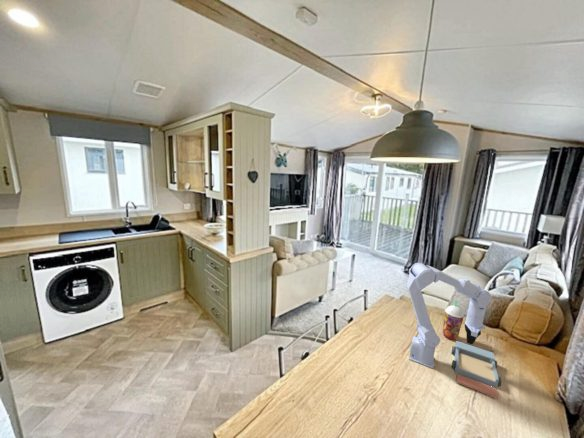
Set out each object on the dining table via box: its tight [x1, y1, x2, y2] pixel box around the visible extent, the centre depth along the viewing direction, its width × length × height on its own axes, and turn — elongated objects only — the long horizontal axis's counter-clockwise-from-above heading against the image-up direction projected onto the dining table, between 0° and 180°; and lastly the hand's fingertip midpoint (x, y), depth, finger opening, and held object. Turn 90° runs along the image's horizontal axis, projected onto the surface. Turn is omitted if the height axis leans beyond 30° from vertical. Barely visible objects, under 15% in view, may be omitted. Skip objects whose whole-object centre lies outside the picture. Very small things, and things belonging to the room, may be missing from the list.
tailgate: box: [456, 373, 499, 399], centre depth 101 cm, size 13×1×6 cm
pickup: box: [451, 340, 502, 389], centre depth 111 cm, size 16×17×5 cm
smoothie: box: [442, 300, 465, 341], centre depth 130 cm, size 8×8×20 cm
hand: (469, 343), depth 111 cm, fingers closed
